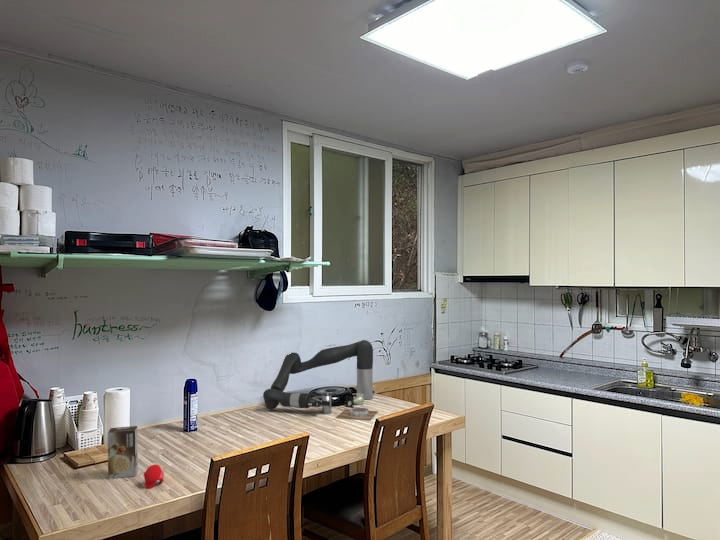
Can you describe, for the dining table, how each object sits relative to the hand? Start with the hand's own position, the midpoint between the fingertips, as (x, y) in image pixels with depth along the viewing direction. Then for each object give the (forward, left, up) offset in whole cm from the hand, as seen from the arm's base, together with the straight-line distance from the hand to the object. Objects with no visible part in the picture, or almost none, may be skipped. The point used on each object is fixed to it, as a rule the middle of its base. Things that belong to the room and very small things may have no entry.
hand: (331, 402), depth 257 cm
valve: (-19, +8, -7) cm, 22 cm away
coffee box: (+93, -48, -7) cm, 105 cm away
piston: (0, -3, -7) cm, 7 cm away
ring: (0, +14, -6) cm, 15 cm away
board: (0, +13, -7) cm, 15 cm away
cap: (+98, -32, -7) cm, 103 cm away
